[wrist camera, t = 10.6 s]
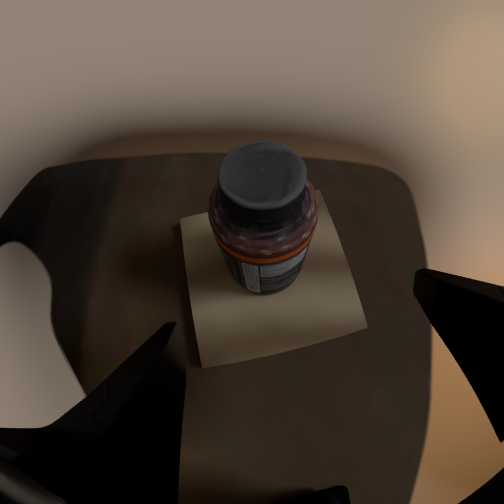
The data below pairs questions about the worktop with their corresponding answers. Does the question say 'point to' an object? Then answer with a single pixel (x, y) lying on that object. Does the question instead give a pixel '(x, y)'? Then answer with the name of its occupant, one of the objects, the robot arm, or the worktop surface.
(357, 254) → the worktop surface
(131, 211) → the worktop surface
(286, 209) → the supplement bottle
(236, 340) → the beige square board
